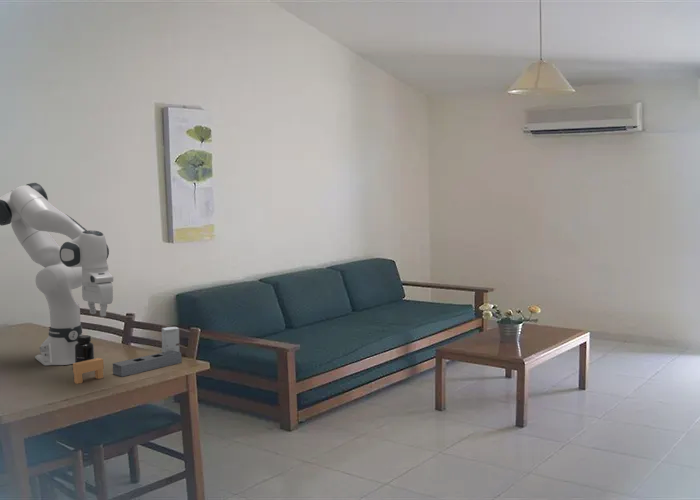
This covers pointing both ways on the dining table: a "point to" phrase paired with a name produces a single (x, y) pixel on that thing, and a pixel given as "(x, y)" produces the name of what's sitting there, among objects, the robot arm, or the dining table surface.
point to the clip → (88, 369)
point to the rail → (146, 363)
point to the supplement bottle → (84, 349)
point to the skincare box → (170, 339)
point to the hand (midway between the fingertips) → (98, 314)
